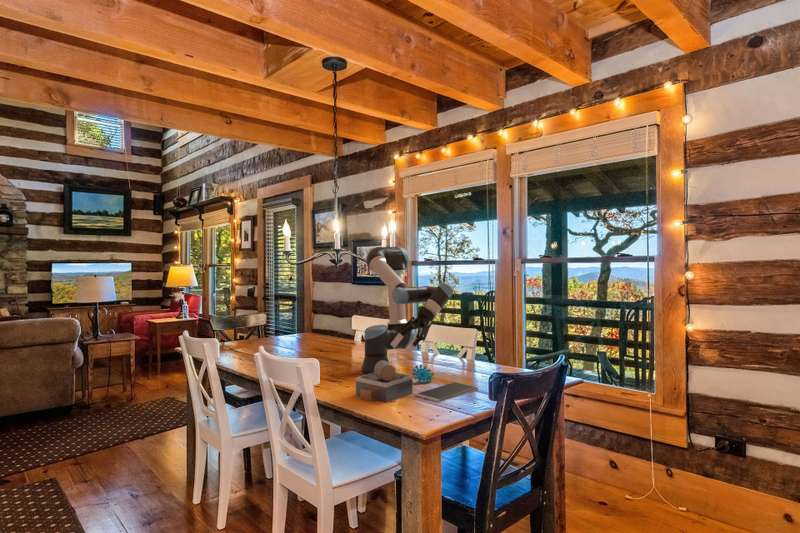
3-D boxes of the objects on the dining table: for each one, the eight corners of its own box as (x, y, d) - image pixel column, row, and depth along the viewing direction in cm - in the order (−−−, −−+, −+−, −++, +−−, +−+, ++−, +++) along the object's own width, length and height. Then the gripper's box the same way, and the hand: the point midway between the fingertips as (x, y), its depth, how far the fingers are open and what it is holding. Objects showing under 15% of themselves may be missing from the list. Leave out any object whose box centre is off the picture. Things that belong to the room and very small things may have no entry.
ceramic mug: (380, 383, 195) (380, 364, 195) (373, 378, 202) (373, 360, 202) (404, 380, 199) (404, 362, 199) (396, 376, 207) (396, 359, 207)
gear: (414, 381, 214) (411, 363, 221) (410, 388, 218) (407, 370, 225) (437, 382, 218) (433, 364, 225) (432, 389, 222) (428, 371, 228)
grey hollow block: (350, 396, 197) (350, 378, 197) (382, 386, 212) (382, 370, 212) (381, 404, 186) (381, 385, 186) (412, 393, 201) (412, 375, 201)
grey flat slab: (414, 397, 197) (414, 393, 197) (455, 385, 216) (455, 381, 216) (438, 404, 187) (438, 400, 187) (478, 390, 206) (478, 386, 206)
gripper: (450, 320, 201) (420, 359, 194) (419, 314, 223) (391, 349, 216) (439, 308, 199) (409, 347, 191) (409, 303, 220) (381, 339, 213)
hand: (400, 348), depth 204 cm, fingers open, 13 cm apart
